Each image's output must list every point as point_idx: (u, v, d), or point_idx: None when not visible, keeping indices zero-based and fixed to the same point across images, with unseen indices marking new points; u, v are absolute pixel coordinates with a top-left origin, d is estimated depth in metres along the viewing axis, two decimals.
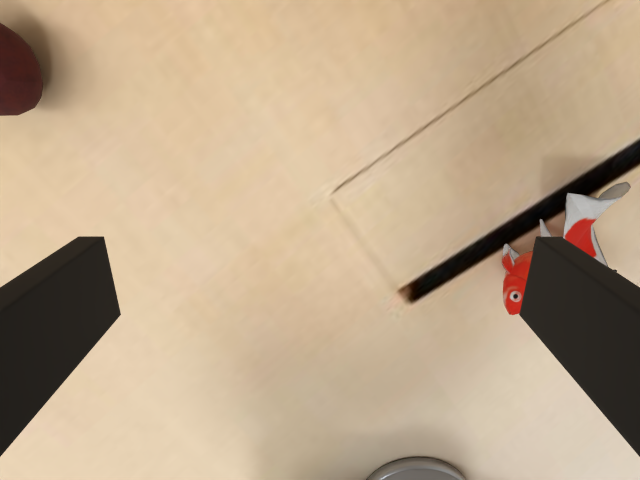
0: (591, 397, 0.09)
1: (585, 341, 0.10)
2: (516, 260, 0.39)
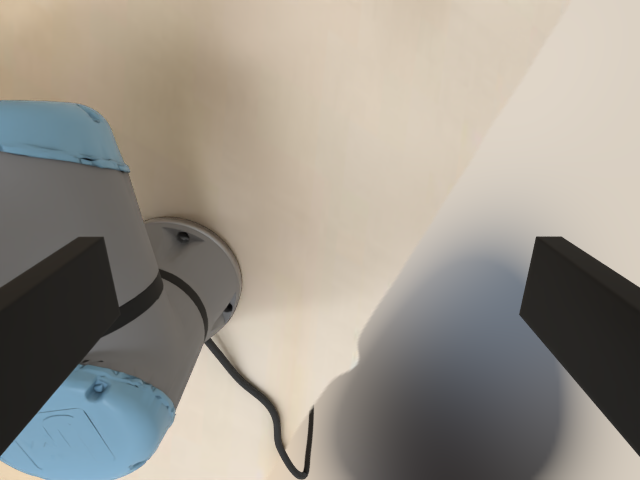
0: (591, 397, 0.09)
1: (585, 341, 0.10)
2: None
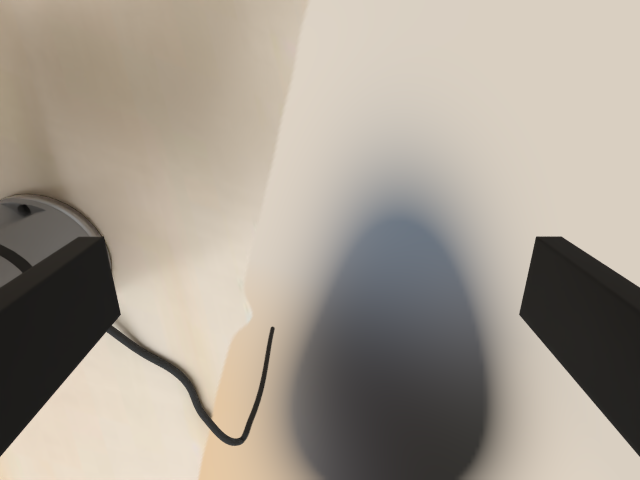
0: (591, 397, 0.09)
1: (585, 341, 0.10)
2: None
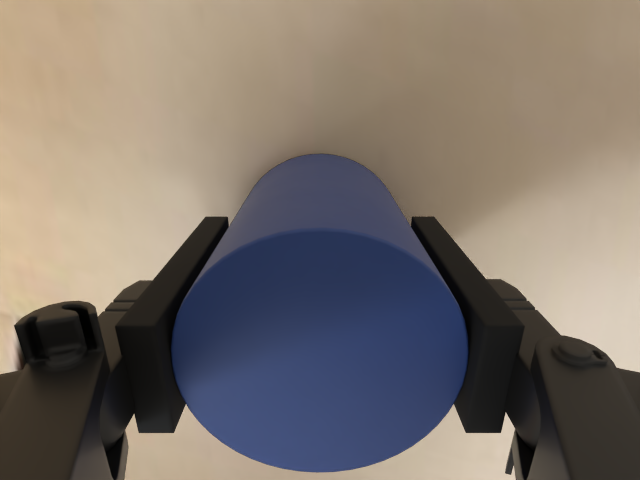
0: None
1: None
2: None
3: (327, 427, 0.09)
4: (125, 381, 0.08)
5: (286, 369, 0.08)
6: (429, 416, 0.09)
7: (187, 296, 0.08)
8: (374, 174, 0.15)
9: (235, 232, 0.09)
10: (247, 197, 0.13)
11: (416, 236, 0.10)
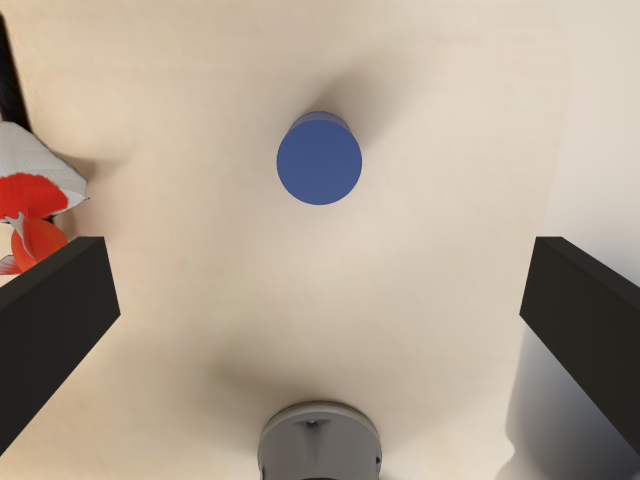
0: (591, 397, 0.09)
1: (585, 341, 0.10)
2: None
3: (321, 186, 0.30)
4: None
5: (309, 164, 0.29)
6: (352, 182, 0.30)
7: (283, 140, 0.29)
8: None
9: (294, 126, 0.30)
10: (291, 127, 0.34)
11: None
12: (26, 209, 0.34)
